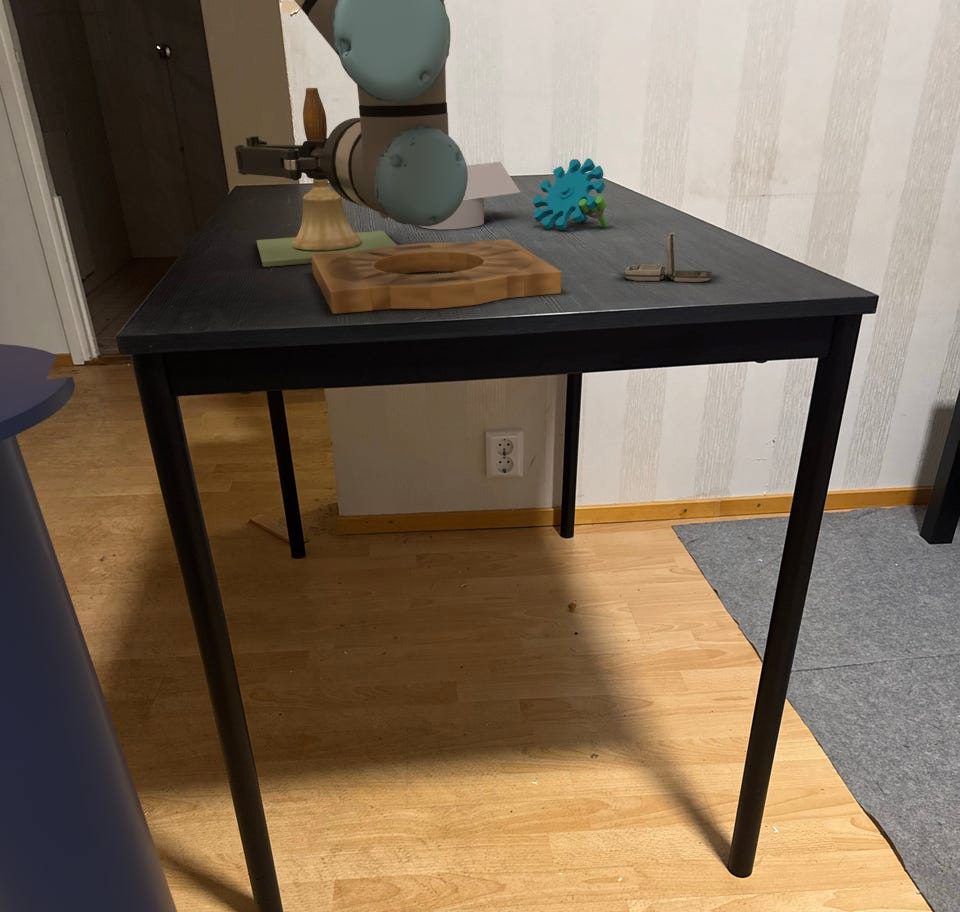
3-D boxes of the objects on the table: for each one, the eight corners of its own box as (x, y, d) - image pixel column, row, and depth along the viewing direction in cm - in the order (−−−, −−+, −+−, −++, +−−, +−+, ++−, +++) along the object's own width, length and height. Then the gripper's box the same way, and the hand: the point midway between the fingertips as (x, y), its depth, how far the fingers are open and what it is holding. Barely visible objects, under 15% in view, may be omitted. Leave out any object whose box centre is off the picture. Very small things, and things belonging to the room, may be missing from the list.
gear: (516, 211, 115) (562, 146, 114) (537, 240, 120) (582, 178, 119) (572, 234, 109) (622, 166, 108) (592, 264, 114) (640, 199, 112)
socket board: (334, 318, 79) (331, 295, 78) (311, 271, 96) (309, 252, 95) (566, 296, 83) (566, 274, 82) (505, 255, 100) (505, 236, 99)
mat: (263, 267, 99) (262, 261, 98) (257, 245, 110) (256, 240, 110) (403, 256, 102) (402, 250, 101) (383, 235, 113) (383, 230, 113)
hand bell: (348, 235, 110) (332, 85, 101) (372, 246, 104) (357, 87, 95) (283, 243, 107) (261, 88, 98) (304, 254, 101) (283, 90, 92)
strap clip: (623, 281, 88) (625, 235, 86) (626, 274, 91) (629, 229, 88) (710, 283, 86) (715, 236, 84) (711, 276, 89) (716, 230, 86)
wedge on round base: (482, 212, 126) (405, 223, 120) (480, 159, 122) (401, 168, 116) (520, 219, 120) (441, 231, 114) (520, 164, 116) (439, 173, 110)
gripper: (249, 219, 83) (206, 193, 99) (488, 196, 91) (413, 175, 107) (234, 127, 78) (192, 115, 94) (487, 112, 87) (409, 104, 103)
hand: (310, 147), depth 101 cm, fingers open, 13 cm apart
